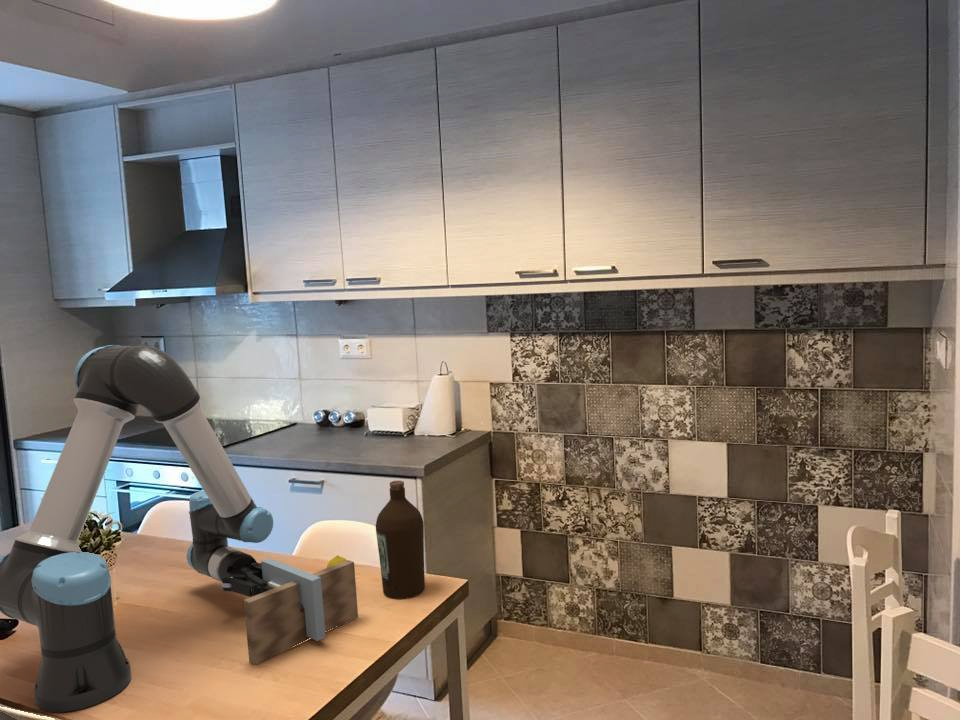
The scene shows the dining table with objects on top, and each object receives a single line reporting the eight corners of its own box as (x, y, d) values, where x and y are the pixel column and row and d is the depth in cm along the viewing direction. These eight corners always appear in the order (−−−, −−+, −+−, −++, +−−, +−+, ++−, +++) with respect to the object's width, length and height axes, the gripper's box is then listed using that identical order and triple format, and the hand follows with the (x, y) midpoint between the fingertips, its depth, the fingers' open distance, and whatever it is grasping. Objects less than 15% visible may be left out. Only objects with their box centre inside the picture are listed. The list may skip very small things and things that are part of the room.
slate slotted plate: (266, 616, 154) (261, 560, 153) (274, 612, 156) (269, 557, 154) (317, 641, 142) (312, 580, 141) (325, 637, 144) (320, 577, 142)
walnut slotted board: (254, 665, 137) (249, 602, 136) (249, 661, 138) (243, 600, 137) (358, 617, 154) (354, 562, 153) (352, 615, 156) (348, 560, 154)
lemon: (340, 596, 166) (337, 561, 165) (322, 591, 169) (319, 558, 168) (357, 587, 170) (354, 553, 170) (339, 583, 173) (336, 549, 173)
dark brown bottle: (421, 578, 173) (415, 473, 171) (432, 595, 163) (425, 484, 161) (376, 586, 170) (369, 479, 168) (384, 604, 160) (376, 491, 158)
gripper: (265, 573, 170) (326, 598, 154) (202, 595, 159) (261, 625, 143) (262, 541, 169) (323, 563, 153) (199, 562, 158) (258, 588, 142)
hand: (293, 593), depth 148 cm, fingers closed on slate slotted plate, 2 cm apart
